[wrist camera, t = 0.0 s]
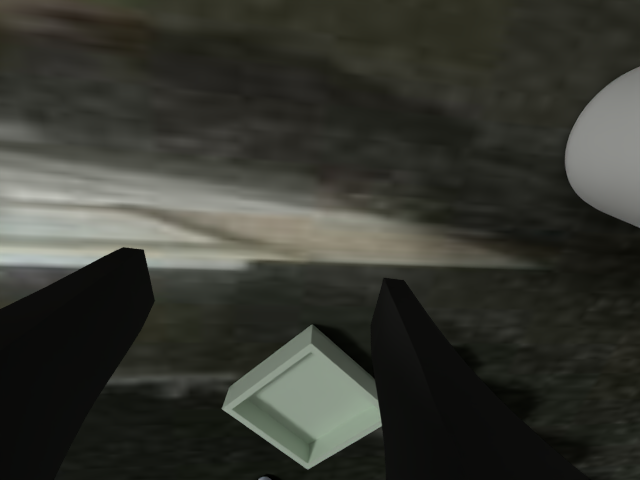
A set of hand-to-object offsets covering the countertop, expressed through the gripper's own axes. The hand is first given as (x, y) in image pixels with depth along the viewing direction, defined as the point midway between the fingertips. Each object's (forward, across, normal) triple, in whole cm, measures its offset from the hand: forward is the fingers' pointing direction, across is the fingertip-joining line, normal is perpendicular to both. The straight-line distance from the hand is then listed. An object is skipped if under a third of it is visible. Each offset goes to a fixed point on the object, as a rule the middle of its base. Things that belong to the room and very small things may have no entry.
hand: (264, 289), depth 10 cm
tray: (+8, -2, +17) cm, 19 cm away
